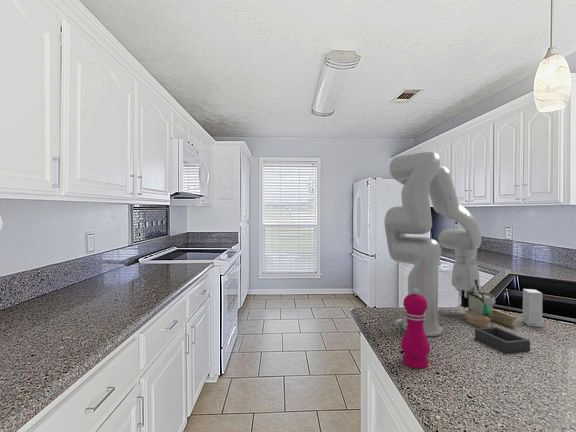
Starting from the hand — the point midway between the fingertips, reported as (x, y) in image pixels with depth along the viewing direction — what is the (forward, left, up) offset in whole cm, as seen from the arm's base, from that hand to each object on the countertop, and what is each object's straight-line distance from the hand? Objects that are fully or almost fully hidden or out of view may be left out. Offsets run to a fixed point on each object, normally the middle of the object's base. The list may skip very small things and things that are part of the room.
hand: (466, 306), depth 132 cm
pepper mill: (-44, -34, -3) cm, 56 cm away
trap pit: (-11, -28, -3) cm, 31 cm away
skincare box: (+15, -15, -3) cm, 21 cm away
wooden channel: (0, -12, -3) cm, 13 cm away
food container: (0, -9, -3) cm, 10 cm away
